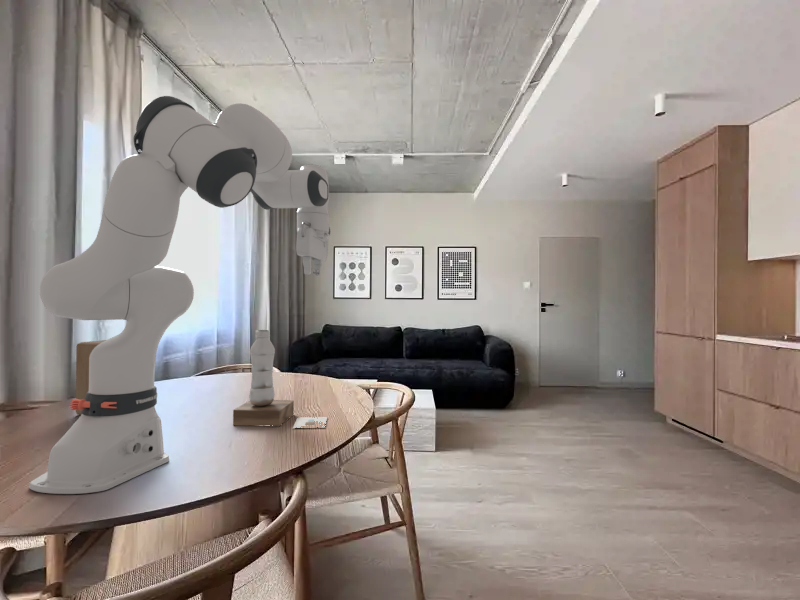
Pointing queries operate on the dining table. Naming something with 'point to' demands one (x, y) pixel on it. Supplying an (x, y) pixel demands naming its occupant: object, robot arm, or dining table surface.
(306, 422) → the page
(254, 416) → the base block
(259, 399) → the plastic bottle
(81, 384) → the block
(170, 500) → the dining table surface
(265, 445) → the dining table surface
